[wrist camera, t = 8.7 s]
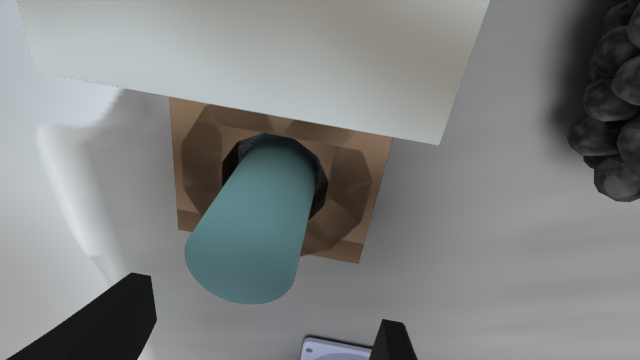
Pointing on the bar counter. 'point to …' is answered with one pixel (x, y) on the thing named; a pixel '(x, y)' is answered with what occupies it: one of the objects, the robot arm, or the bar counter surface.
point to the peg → (256, 223)
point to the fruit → (613, 107)
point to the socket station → (273, 85)
